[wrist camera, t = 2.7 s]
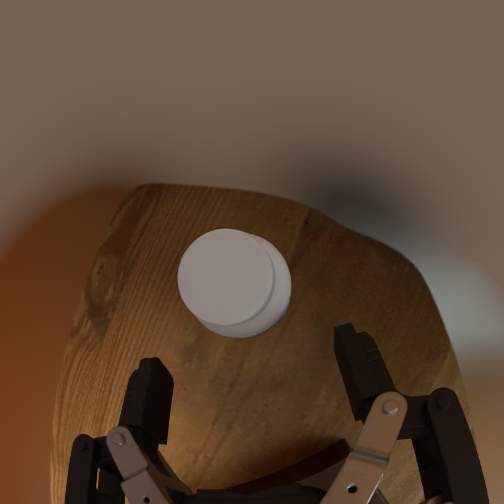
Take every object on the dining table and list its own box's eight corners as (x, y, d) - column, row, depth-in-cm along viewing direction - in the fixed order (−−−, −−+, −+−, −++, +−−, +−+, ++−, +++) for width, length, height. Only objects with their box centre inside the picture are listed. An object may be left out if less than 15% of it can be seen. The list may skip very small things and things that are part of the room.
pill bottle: (301, 275, 20) (315, 241, 11) (272, 342, 19) (261, 368, 10) (234, 248, 21) (196, 196, 12) (206, 312, 20) (144, 308, 11)
